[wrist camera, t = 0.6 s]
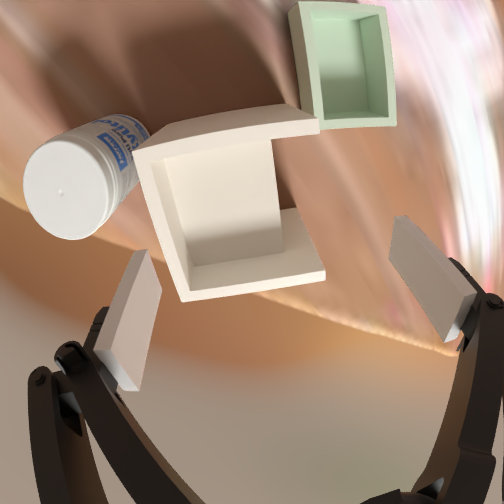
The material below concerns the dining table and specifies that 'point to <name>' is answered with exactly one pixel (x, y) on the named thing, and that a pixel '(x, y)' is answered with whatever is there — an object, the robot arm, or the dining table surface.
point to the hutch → (226, 203)
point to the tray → (344, 63)
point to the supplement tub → (83, 175)
